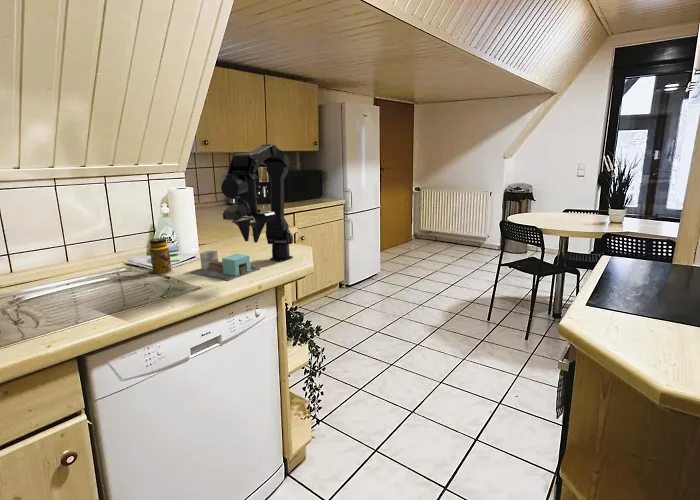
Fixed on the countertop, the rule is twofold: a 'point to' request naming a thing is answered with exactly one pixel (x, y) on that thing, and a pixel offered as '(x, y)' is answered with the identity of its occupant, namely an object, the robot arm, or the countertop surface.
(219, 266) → the rail track
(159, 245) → the condiment
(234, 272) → the block
